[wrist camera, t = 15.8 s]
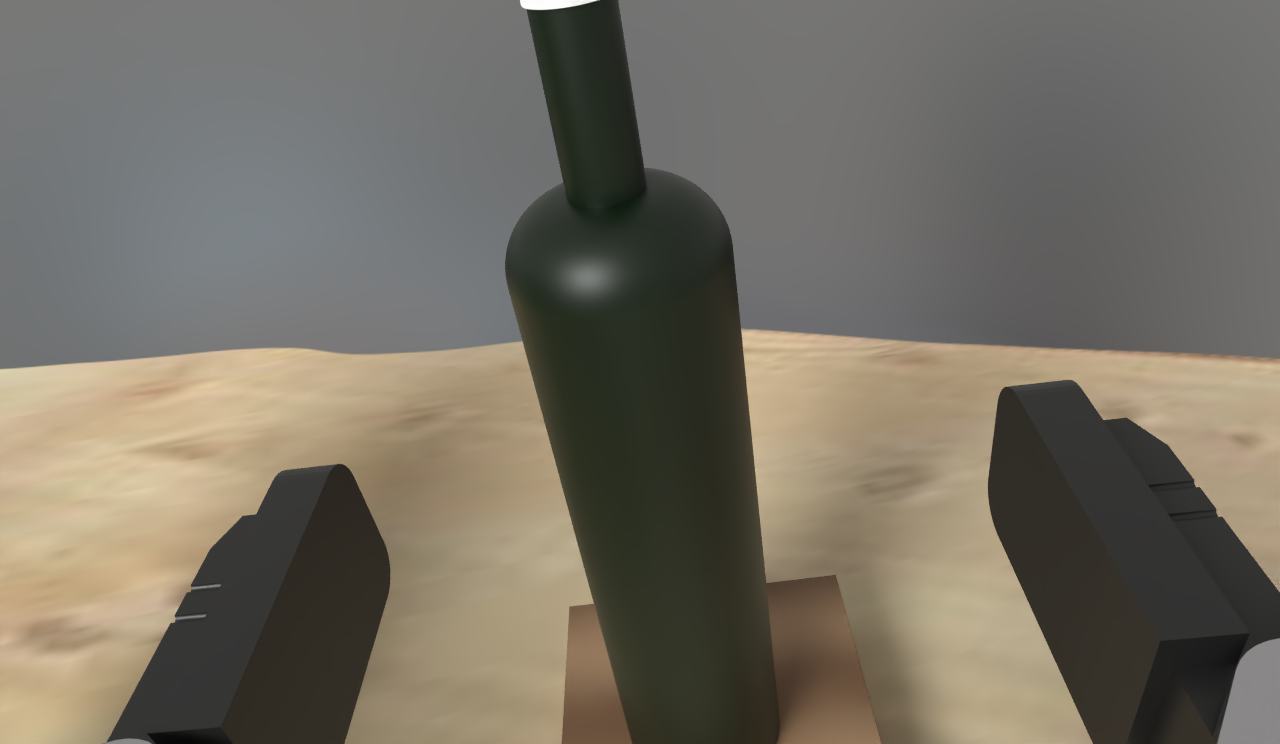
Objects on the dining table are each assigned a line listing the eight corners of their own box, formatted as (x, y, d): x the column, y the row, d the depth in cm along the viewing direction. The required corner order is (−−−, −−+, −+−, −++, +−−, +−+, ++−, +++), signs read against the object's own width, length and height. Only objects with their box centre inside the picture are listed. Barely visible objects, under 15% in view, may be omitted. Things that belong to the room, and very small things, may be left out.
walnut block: (908, 908, 31) (911, 852, 29) (576, 938, 32) (553, 887, 29) (837, 632, 41) (835, 575, 38) (585, 661, 41) (569, 606, 39)
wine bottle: (806, 700, 34) (744, -231, 17) (728, 826, 30) (549, -188, 13) (684, 639, 37) (527, -194, 20) (601, 747, 33) (323, -153, 16)
